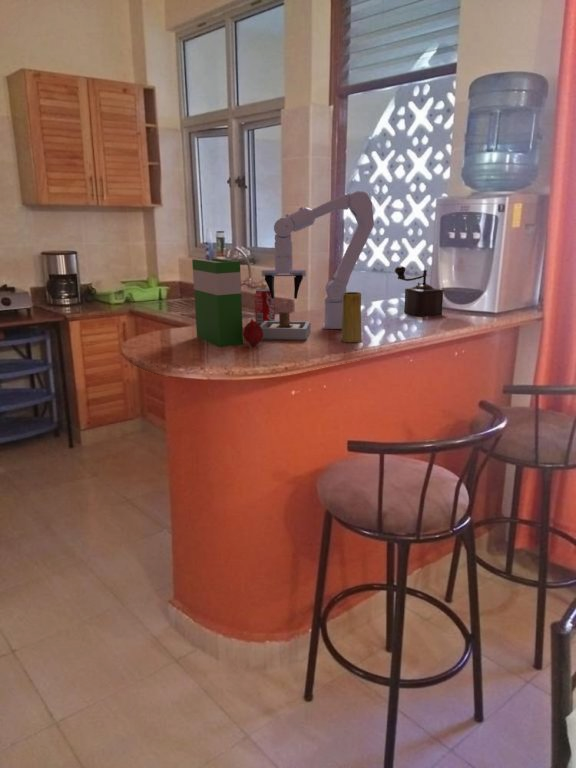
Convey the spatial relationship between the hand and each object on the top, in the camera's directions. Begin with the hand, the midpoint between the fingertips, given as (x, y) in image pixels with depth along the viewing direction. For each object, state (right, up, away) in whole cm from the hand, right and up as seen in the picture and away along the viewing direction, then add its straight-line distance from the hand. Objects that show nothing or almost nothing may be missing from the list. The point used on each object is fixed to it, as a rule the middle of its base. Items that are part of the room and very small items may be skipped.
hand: (284, 298), depth 188 cm
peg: (0, -13, -11) cm, 17 cm away
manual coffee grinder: (+50, -2, +25) cm, 56 cm away
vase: (+20, -16, -19) cm, 32 cm away
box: (0, -13, -11) cm, 17 cm away
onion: (-9, -18, -24) cm, 31 cm away
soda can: (-7, -8, +11) cm, 15 cm away
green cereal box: (-20, -15, -16) cm, 30 cm away
